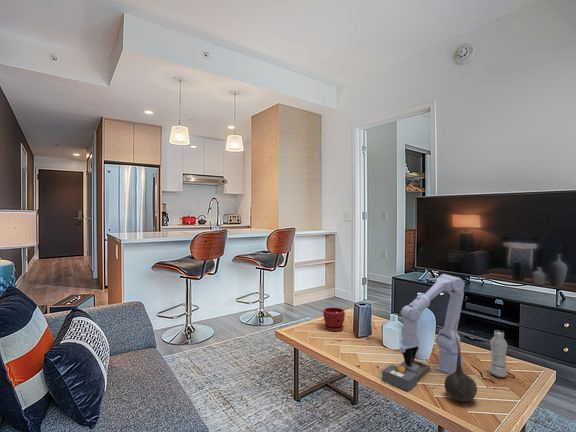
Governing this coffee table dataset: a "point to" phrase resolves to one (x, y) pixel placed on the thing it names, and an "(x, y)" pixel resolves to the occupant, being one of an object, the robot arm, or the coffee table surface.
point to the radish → (460, 382)
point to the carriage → (411, 367)
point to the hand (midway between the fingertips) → (409, 363)
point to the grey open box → (399, 378)
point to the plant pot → (334, 319)
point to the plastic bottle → (498, 354)
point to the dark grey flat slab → (422, 369)
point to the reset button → (401, 369)
